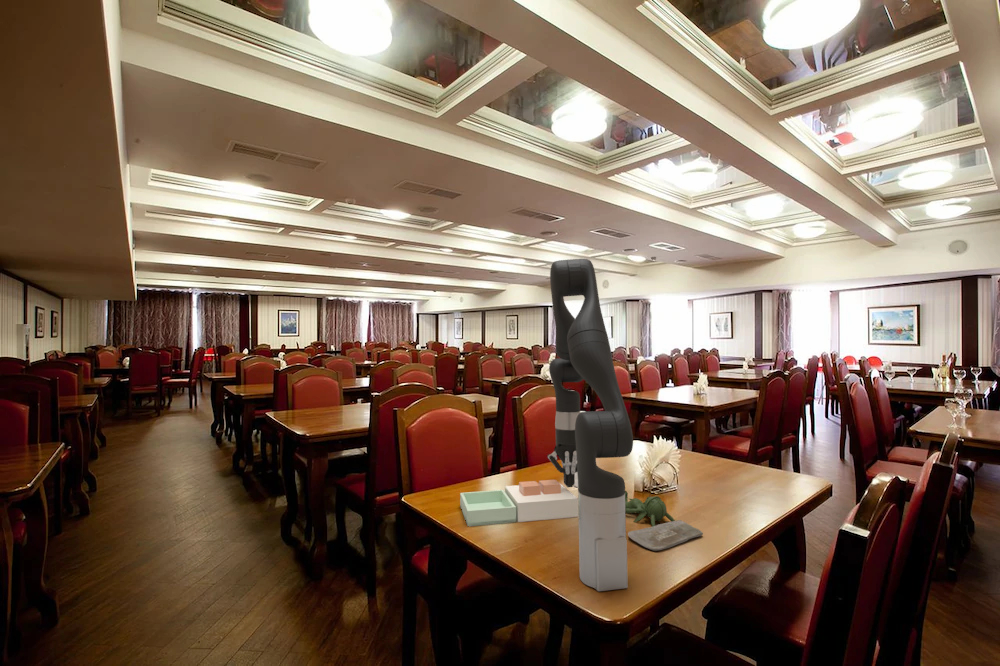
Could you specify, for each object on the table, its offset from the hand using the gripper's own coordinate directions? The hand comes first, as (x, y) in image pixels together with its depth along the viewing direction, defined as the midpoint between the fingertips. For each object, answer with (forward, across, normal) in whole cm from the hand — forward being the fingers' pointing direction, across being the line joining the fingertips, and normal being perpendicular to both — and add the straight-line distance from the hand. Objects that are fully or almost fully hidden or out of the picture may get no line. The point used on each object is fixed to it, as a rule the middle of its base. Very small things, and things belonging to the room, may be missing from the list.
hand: (569, 486), depth 136 cm
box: (+6, -24, 0) cm, 25 cm away
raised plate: (+6, -9, 0) cm, 11 cm away
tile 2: (+1, -6, 0) cm, 6 cm away
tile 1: (+1, -12, 0) cm, 12 cm away
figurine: (+7, +17, -11) cm, 21 cm away
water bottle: (+6, +11, +20) cm, 24 cm away
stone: (+7, +15, -26) cm, 31 cm away
